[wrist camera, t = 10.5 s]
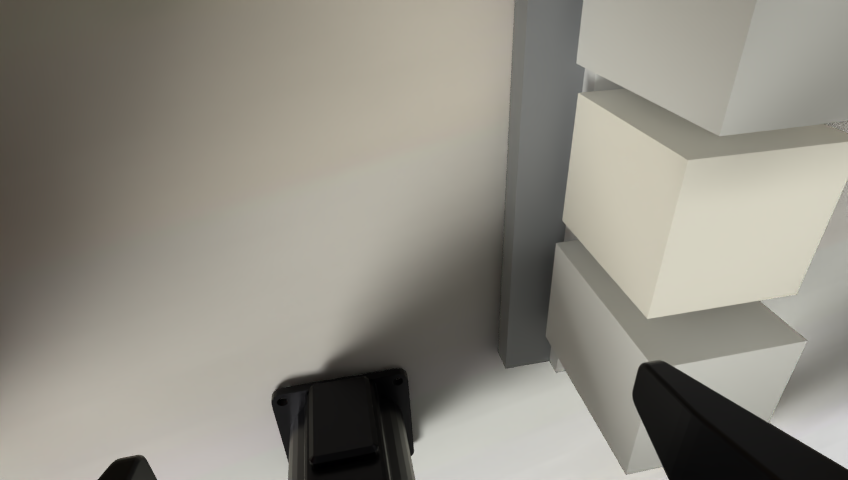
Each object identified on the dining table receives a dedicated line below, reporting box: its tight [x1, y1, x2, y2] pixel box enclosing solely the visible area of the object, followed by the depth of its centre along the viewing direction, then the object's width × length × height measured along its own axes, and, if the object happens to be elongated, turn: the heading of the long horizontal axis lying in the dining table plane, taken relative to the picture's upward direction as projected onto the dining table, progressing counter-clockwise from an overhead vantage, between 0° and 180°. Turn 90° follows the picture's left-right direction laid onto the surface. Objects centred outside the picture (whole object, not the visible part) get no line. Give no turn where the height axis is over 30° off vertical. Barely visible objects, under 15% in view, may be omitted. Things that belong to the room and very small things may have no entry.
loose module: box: [562, 88, 848, 319], centre depth 17 cm, size 5×5×6 cm
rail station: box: [498, 0, 848, 475], centre depth 17 cm, size 22×8×9 cm, turn 2°
